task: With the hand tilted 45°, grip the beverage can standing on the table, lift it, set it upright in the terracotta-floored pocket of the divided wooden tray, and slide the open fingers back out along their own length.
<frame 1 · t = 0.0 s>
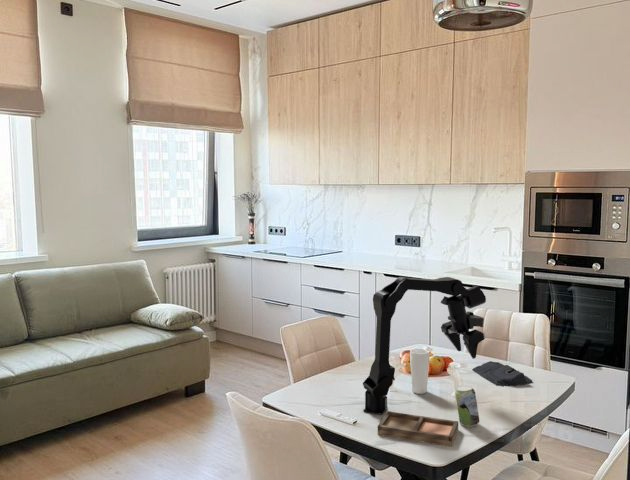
hand: (466, 354, 201), 15 cm above the table, tool pointing down, fingers open, 9 cm apart
beverage can: (467, 425, 180), on the table
divided wooden tray: (418, 432, 175), on the table
dark slate chunk: (501, 377, 225), on the table
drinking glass: (419, 392, 209), on the table
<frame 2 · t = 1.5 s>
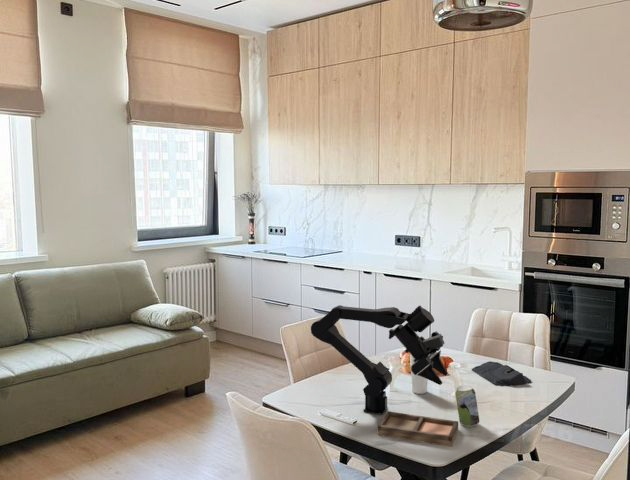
hand: (444, 379, 182), 13 cm above the table, tool tilted 45°, fingers open, 9 cm apart
nothing on the table moved.
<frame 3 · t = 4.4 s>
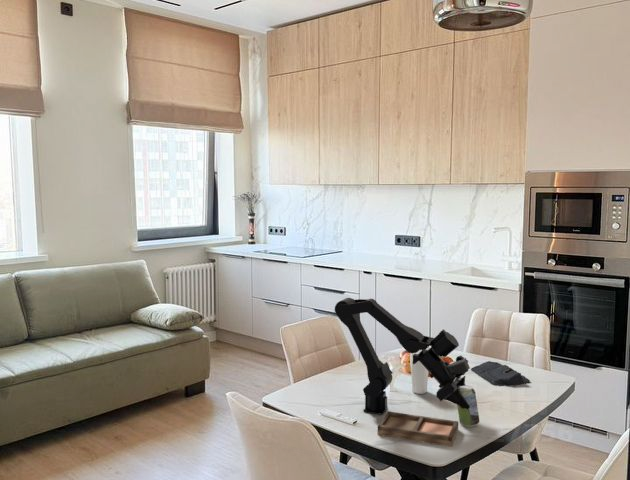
hand: (470, 404, 179), 7 cm above the table, tool tilted 45°, fingers closed on beverage can, 6 cm apart
beverage can: (467, 425, 180), on the table, touching gripper
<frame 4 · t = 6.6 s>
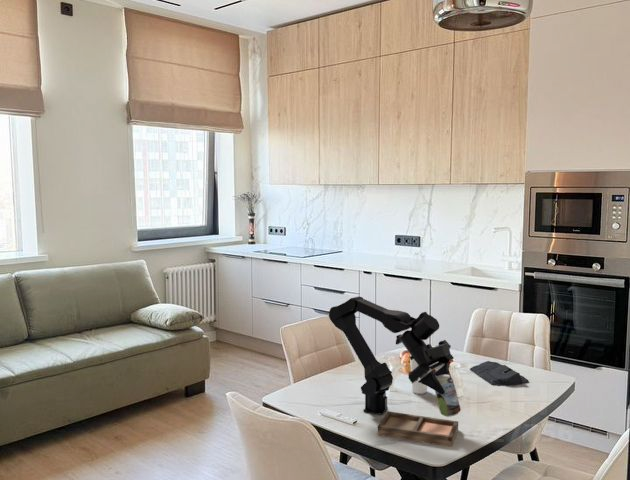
hand: (448, 390, 173), 13 cm above the table, tool tilted 45°, fingers closed on beverage can, 6 cm apart
beverage can: (448, 415, 174), point 5 cm above the table, touching gripper
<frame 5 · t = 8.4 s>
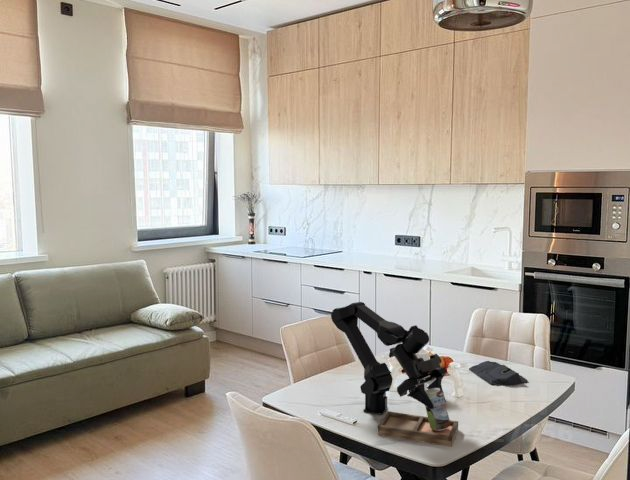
hand: (438, 405, 171), 9 cm above the table, tool tilted 45°, fingers closed on beverage can, 6 cm apart
beverage can: (438, 429, 173), point 2 cm above the table, touching gripper, divided wooden tray
when the fingers open (9 cm above the table, at t = 8.9 s): beverage can stays where it is, resting on divided wooden tray.
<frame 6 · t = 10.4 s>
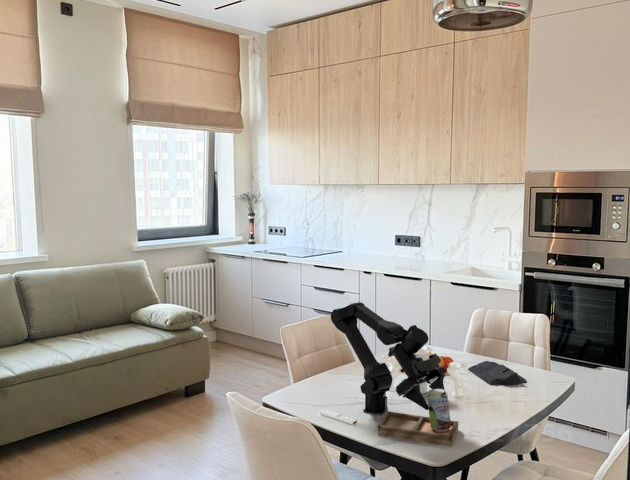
hand: (437, 405, 172), 9 cm above the table, tool tilted 45°, fingers open, 9 cm apart
beverage can: (438, 429, 173), point 1 cm above the table, touching divided wooden tray
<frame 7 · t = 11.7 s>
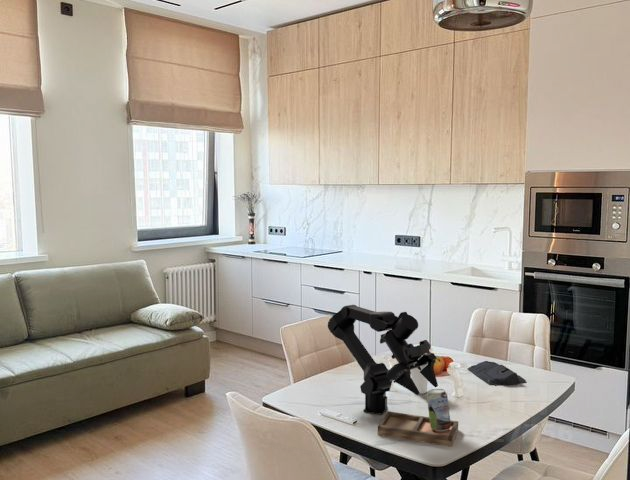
hand: (427, 390, 174), 13 cm above the table, tool tilted 45°, fingers open, 9 cm apart
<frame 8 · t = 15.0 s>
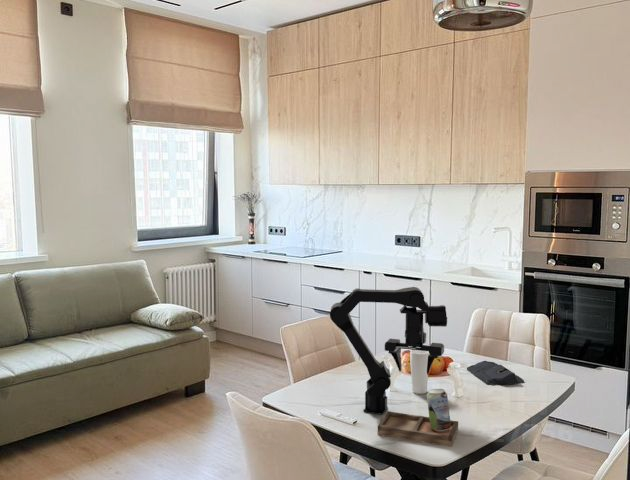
hand: (414, 372, 190), 13 cm above the table, tool pointing down, fingers open, 9 cm apart
at the end: beverage can 1.0 cm from the target spot on the divided wooden tray, point 1.4 cm above the divided wooden tray's base; beverage can tilted 0°; the gripper is holding nothing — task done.
